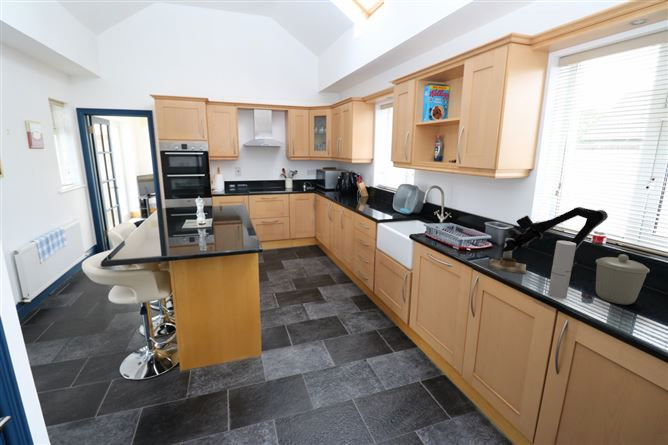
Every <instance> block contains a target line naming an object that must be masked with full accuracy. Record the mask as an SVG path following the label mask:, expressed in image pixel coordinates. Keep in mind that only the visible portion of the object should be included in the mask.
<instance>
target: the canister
mask: <svg viewBox="0 0 668 445" xmlns="http://www.w3.org/2000/svg"><path fill="white" fill-rule="evenodd" d="M595 263H596V273H595V274H596V275H595V291H596V295H597V296H598V297H599V298H600V299H601V300H604V301H607V302H609V303H614V304H616V305H631V304H634V303H635V301H636V300H637V298H638V296H639V294H640V291H641V289H642V287H643V284H644V281H645V279H646V277H647V274H649V273H650V268H648V267H647V265H646V266H645V265H644V264H643V263H640V262H638V261H635V260H630V259H629V256H628V255H627V254H619V255H618V257H613V256H611V257H610V256H605V257H600V258H597V259H595Z"/></svg>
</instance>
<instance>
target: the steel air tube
mask: <svg viewBox="0 0 668 445" xmlns="http://www.w3.org/2000/svg"><path fill="white" fill-rule="evenodd" d="M510 239H512V240H514V239H513V237H506V238H505V240H504V247H503V249H504V248H505V247H506V245H507V244H506V243H505V241H507V240H510ZM514 241H515V240H514ZM512 256H513V251H507V252H503V256H502V258H511V259H512Z"/></svg>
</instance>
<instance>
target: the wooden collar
mask: <svg viewBox="0 0 668 445" xmlns="http://www.w3.org/2000/svg"><path fill="white" fill-rule="evenodd" d="M499 260H500V265H502V266H505V267H516V263H517V260H516V259H515V258H512V257H511V258H503V257H500V259H499Z"/></svg>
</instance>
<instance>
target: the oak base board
mask: <svg viewBox="0 0 668 445" xmlns="http://www.w3.org/2000/svg"><path fill="white" fill-rule="evenodd" d="M488 269H494V270H499V271H503V272H512V273H515V274H516V273H517V274H522V275H526V271H527V263H526V264H525V263H520V262H516V267H505V266H502V265H500V259H494V258H491V259H490V262H489V265H488Z"/></svg>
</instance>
